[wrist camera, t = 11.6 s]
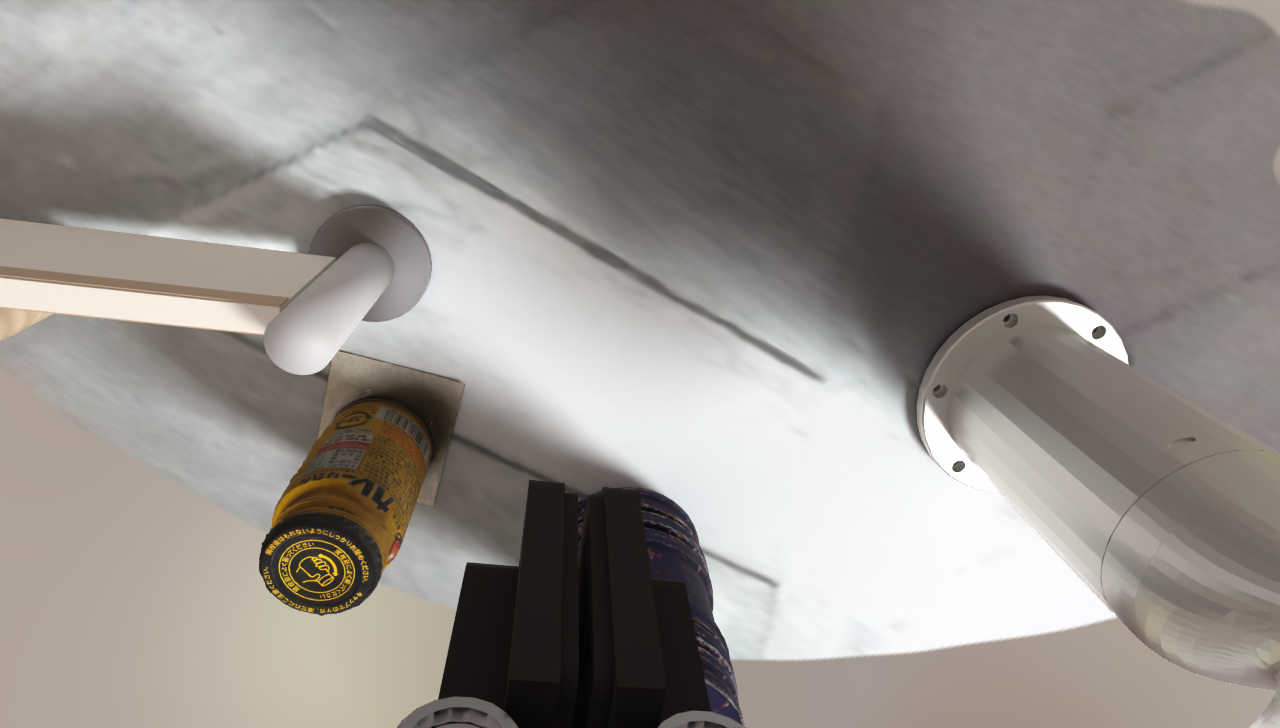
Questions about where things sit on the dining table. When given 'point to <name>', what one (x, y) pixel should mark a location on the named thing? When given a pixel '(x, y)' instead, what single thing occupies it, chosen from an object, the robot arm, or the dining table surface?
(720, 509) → the dining table surface
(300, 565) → the condiment
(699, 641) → the storage jar
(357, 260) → the gate
